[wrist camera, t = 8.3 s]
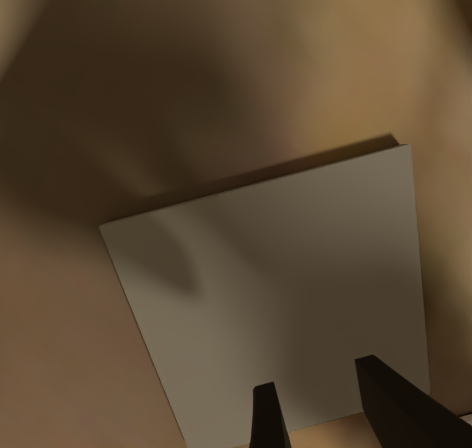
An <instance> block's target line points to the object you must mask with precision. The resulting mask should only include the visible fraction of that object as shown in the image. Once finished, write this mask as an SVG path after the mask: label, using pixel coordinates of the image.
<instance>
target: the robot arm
mask: <svg viewBox="0 0 472 448" xmlns="http://www.w3.org/2000/svg"><path fill="white" fill-rule="evenodd" d="M354 360H355V366H356V372H357V378H358V384H359V390H360V396H361V402H362V408H363V410H364V412H365V414H366V416H367V418H368V420H369V422H370V424H371V426H372V428H373V430H374V432H375V434H376V436H377V438H378V440H379V442H380V444H381V446H382V448H472V414H469V415H466V416H462V417H458V416H457V415H455V414H454V413H453V412H451V411H450V410H448V409H447V408H445V407H444V406H443V405H441V404H440V403H438V402H437V401H435V400H434V399H433V398H431V397H430V396H428V395H427V394H426V393H424V392H423V391H421V390H420V389H419V388H417V387H416V386H415V385H413V384H412V383H411V382H409V381H408V380H407V379H405V378H404V377H403V376H401V375H400V374H399V373H397V372H396V371H395V370H393V369H392V368H391V367H389V366H388V365H387V364H386V363H384V362H383V361H382V360H380V359H379V358H378V357H376V356H375V355H373V354H372V355H369V356H365V357H361V358H358V359H354ZM249 448H291V444H290V440H289V436H288V432H287V429H286V425H285V421H284V417H283V414H282V410H281V406H280V403H279V399H278V395H277V391H276V388H275V384H274V381H273V382H269V383H265V384H262V385H258V386H255V387H254V389H253V415H252V428H251V438H250V446H249Z"/></svg>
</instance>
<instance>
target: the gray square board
mask: <svg viewBox="0 0 472 448" xmlns="http://www.w3.org/2000/svg"><path fill="white" fill-rule="evenodd" d="M98 227H99V229H100V232H101V234H102V237H103V239H104V242H105V244H106V247H107V249H108V252H109V254H110V257H111V259H112V261H113V264H114V266H115V269H116V271H117V274H118V276H119V279H120V281H121V284H122V286H123V289H124V291H125V294H126V296H127V299H128V301H129V304H130V306H131V308H132V311H133V313H134V316H135V318H136V321H137V323H138V326H139V328H140V331H141V333H142V336H143V338H144V341H145V343H146V346H147V348H148V350H149V353H150V355H151V358H152V360H153V363H154V365H155V368H156V370H157V373H158V375H159V378H160V380H161V383H162V385H163V388H164V390H165V393H166V395H167V397H168V400H169V402H170V405H171V407H172V410H173V412H174V415H175V417H176V420H177V422H178V425H179V427H180V430H181V432H182V435H183V437H184V439H185V442H186V444H187V447H188V448H233V447H236V446H240V445H244V444H248V443H250V438H251V428H252V415H253V389H254V387H255V386H258V385H262V384H265V383H269V382H273V381H274V384H275V388H276V391H277V395H278V399H279V403H280V406H281V410H282V414H283V417H284V421H285V425H286V429H287V432H292V431H295V430H299V429H303V428H306V427H310V426H314V425H317V424H321V423H325V422H328V421H332V420H336V419H339V418H343V417H347V416H350V415H354V414H358V413H361V412H364V410H363V408H362V402H361V396H360V390H359V384H358V378H357V372H356V366H355V360H354V359H358V358H361V357H365V356H369V355H372V354H373V355H375V356H376V357H378V358H379V359H380V360H382V361H383V362H384V363H386V364H387V365H388V366H389V367H391V368H392V369H393V370H395V371H396V372H397V373H399V374H400V375H401V376H403V377H404V378H405V379H407V380H408V381H409V382H411V383H412V384H413V385H415V386H416V387H417V388H419V389H420V390H421V391H423V392H424V393H426V394H431V389H430V376H429V364H428V351H427V339H426V326H425V314H424V301H423V289H422V276H421V264H420V252H419V239H418V227H417V214H416V202H415V189H414V177H413V164H412V152H411V144H401V145H397V146H393V147H390V148H386V149H382V150H378V151H375V152H371V153H367V154H363V155H359V156H356V157H352V158H348V159H344V160H341V161H337V162H333V163H329V164H325V165H322V166H318V167H314V168H310V169H307V170H303V171H299V172H295V173H292V174H288V175H284V176H280V177H276V178H273V179H269V180H265V181H261V182H258V183H254V184H250V185H246V186H242V187H239V188H235V189H231V190H227V191H224V192H220V193H216V194H212V195H208V196H205V197H201V198H197V199H193V200H190V201H186V202H182V203H178V204H175V205H171V206H167V207H163V208H159V209H156V210H152V211H148V212H144V213H141V214H137V215H133V216H129V217H125V218H122V219H118V220H114V221H110V222H107V223H104V224H102V225H100V226H98Z"/></svg>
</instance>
